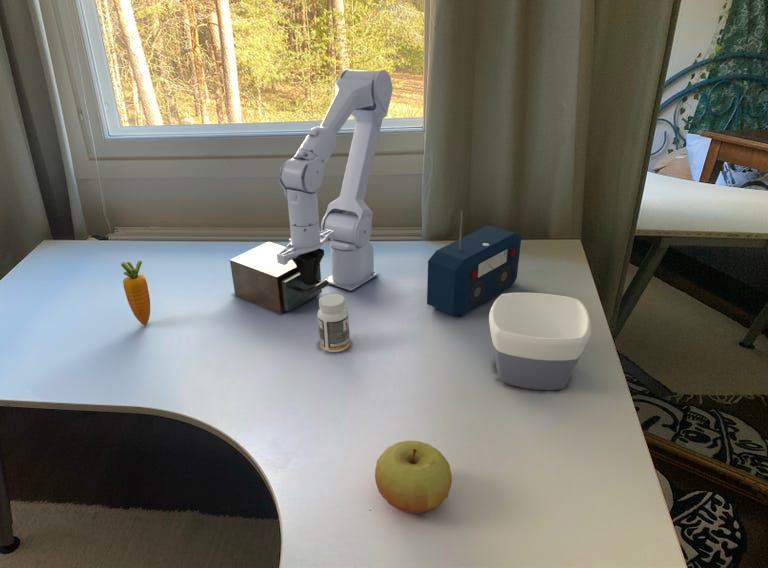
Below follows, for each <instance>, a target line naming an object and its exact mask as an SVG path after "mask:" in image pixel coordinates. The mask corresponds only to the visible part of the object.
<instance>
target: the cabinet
mask: <svg viewBox="0 0 768 568" xmlns="http://www.w3.org/2000/svg"><path fill="white" fill-rule="evenodd" d="M285 247H286V246H284V245H281V244H277V243H274V242H271V241H267V242H264V243H261V244H260V245H258V246H255V247H254V248H252V249H249V250H247V251H246V252H242V253H241V254H239V255H237V256H235V257H233V258H230V259H229V262H230V264H229V265H230V270H231V277H232V285H233V290H234V295H235V296H238V297H240V298H242V299H245V300H246V301H249V302H251V303H254V304H256V305H258V306H261V307H263V308H265V309H268V310H270V311H272V312H275V313H277V314H280V315H282V314H284V313H285V312H287V311H286V310H284V305H283V303H282V293H281V284H280V279H282V278H283V277H285V276H287V275H289V274H291V273H293V272H295V271H296V270H298V268H297V266H296V264H295V263H294V262H293V260H290V261H288V264H286V265H283V264H280V263H278V261H277V254H278V253H279V252H281V251H282V250H283V249H284V248H285Z"/></svg>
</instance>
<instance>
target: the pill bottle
mask: <svg viewBox="0 0 768 568" xmlns="http://www.w3.org/2000/svg"><path fill="white" fill-rule="evenodd" d="M345 299H346V298H345V297H344V296H343V295H342V294H339V293H327V294H324V295H322V296H321V297H319V299H318V307H319V309H318V311H317V327H318V335H319V336H318V338H319V345H320V348H321V349H322V350H324V351H325V352H329V353H339V352H343V351H345V350H346V349H348V347H349V346H350V344H351V337H350V322H349V311H348V308H347V307H346V306H345V305H346V301H345Z"/></svg>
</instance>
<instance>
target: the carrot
mask: <svg viewBox="0 0 768 568" xmlns="http://www.w3.org/2000/svg"><path fill="white" fill-rule="evenodd" d="M142 264H143V261H142V260H138V261H137V263H136V265H135V267H134V265H133V263H132V262H131V261H130V260H129V261H127V262H125V261H122V262H121V263H120V266H121V267H122V269H124V270H125V271H124V272H122V274H123V275H125V276H126V277H125V278H123V280H122V284H123V289H124V293H125V296H126V300H127V303H128V305H129V307H130V310H131V312H132V313H133V315H134V317H135V318H136V319H137V321H138V322H139V323H140V324H141V325H142V326H146V325H148V324H149V320H150V316H151V298H150V292H149V287H148V282H147V278H146V276H145V275H144V274H139V273H140V268H141V265H142Z"/></svg>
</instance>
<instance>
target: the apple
mask: <svg viewBox="0 0 768 568" xmlns="http://www.w3.org/2000/svg"><path fill="white" fill-rule="evenodd" d="M452 475H453V474H452V470H451V465H450V463H449V461H448V460H447V458H446V457H445V456H444V455H443V453H442V452H441V451H440V450H438V449H437V448H436V447H434V446H432V445H431V444H429V443H428V442H427V443H426V442H423V441H420V440H403V441H398V442H396V443H394V444H392V445H390V446H388V447H387V448H385V450H384V451H383V452H382V453H381V454H380V456H379V457H378V458H377V460H376V466H375V471H374V479H375V484H376V487H377V490H378V493H379V494H380V495H381V497H382V498H383V499H384V500H385V501H386V502H387V503H388V504H389V505H390V506H392V507H393V508H396V509H398V510H400V511H401V512H404V513H405V512H406V513H410V514H421V513H426V512H428V511H431V510H434V509H436V508H438V506H440V504H442V503H443V502H444V501H445V500H446V498H448V496H449V493H450V490H451V487H452V482H453V479H452V478H453V476H452Z"/></svg>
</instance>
